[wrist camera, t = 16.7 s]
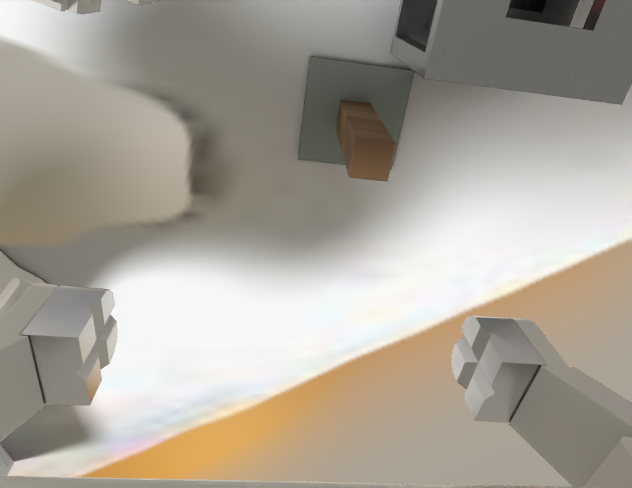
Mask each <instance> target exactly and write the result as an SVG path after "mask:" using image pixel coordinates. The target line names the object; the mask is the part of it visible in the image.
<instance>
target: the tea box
mask: <svg viewBox="0 0 632 488" xmlns="http://www.w3.org/2000/svg"><path fill="white" fill-rule="evenodd" d="M12 466H13V460H12V458H11V457H10V456H9V454H8V453H7V452H6V450H5V449H4V448H3V446H2V445H1V444H0V476H7V475H8V473H9V471H10V469H11V467H12Z"/></svg>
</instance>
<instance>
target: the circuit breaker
mask: <svg viewBox="0 0 632 488" xmlns="http://www.w3.org/2000/svg"><path fill="white" fill-rule="evenodd" d="M33 1H36V2H39V3H41V4H44V5H47V6H49V7H52V8H55V9H57V10H60V11H65V10H69V11H71V12H74V13H77V14H86V13H93V12H99V11H100V5H101V0H33ZM126 1H129V2H131V3H134V4H137V5H142V4H149V3H152V1H155V2H158V0H126Z"/></svg>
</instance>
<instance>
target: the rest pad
mask: <svg viewBox="0 0 632 488" xmlns="http://www.w3.org/2000/svg"><path fill="white" fill-rule="evenodd" d="M413 74H414V71H413V70H406V69H399V68H392V67H384V66H377V65H369V64H362V63H354V62H347V61H339V60H332V59H325V58H317V57H310V60H309V68H308V77H307V86H306V95H305V103H304V112H303V121H302V130H301V138H300V147H299V156H298V159H299V160H308V161H317V162H326V163H335V164H344V165H346V164H345V160H344V157H343V153H342V150H341V146H340V143H339V139H338V135H337V132H336V126H337V119H338V112H339V106H340V100H348V101H356V102H365V103H371V105H372V107H373V108H374V110H375V111H376V113H377V115H378V116H379V118H380V119H381V121H382V123H383V124H384V126H385V127H386V129H387V131H388V132H389V134H390V135H391V137H392V139H393V140H394V142H395V143H396V145H395V149H394V154H393V158H392V163H391V167H390V170H391V169H392V164H393V160H394V156H395V151H396V147H397V143H398V138H399V134H400V130H401V125H402V121H403V117H404V112H405V108H406V104H407V99H408V95H409V91H410V87H411V82H412V78H413Z"/></svg>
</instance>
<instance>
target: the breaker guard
mask: <svg viewBox="0 0 632 488" xmlns="http://www.w3.org/2000/svg"><path fill="white" fill-rule="evenodd" d="M578 2H579V0H401V3H400V8H399V13H398V18H397V22H396V27H395V32H394V37H393V42H392V47H391V52H390V53H391V54H392V55H394V56H395V57H396V58H398V59H399V60H400V61H402V62H403V63H404V64H406V65H407V66H408V67H410V68H411V69H412V70H414V71H415V72H416V73H418V74H419V75H420V76H422V77H423V78H425V79H432V80H440V81H447V82H455V83H463V84H470V85H478V86H485V87H493V88H500V89H508V90H515V91H523V92H530V93H538V94H545V95H553V96H560V97H568V98H575V99H583V100H591V101H598V102H606V103H613V104H621V105H622V103H623V101H624V98H625V96H626V94H627V92H628V90H629V88H630V86H631V84H632V0H594V2H593V5H592V7H591V10H590V12H589V15H588V17H587V20H586V22H585V25H584V27H583V29H580V28H574V27H569V25H570V23H571V20H572V18H573V15H574V12H575V10H576V7H577V5H578Z"/></svg>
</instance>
